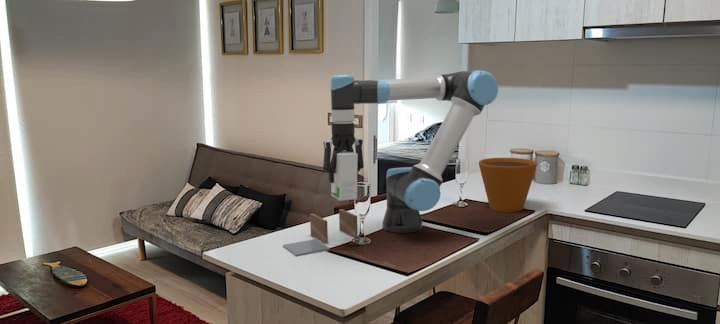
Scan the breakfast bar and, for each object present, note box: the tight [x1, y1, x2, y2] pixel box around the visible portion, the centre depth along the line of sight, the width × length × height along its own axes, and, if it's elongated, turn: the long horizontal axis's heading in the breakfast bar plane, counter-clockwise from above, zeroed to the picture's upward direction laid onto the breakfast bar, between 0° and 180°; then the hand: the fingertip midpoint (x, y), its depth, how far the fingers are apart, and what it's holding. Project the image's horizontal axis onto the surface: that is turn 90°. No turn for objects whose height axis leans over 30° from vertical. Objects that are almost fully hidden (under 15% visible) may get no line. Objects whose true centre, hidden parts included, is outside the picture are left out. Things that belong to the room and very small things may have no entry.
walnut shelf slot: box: [309, 208, 359, 245], centre depth 194 cm, size 13×12×8 cm
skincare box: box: [330, 150, 358, 202], centre depth 179 cm, size 8×7×16 cm
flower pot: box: [478, 157, 538, 213], centre depth 229 cm, size 24×24×20 cm
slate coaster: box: [282, 238, 331, 257], centre depth 181 cm, size 12×12×1 cm
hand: (343, 190), depth 180 cm, fingers closed on skincare box, 7 cm apart
